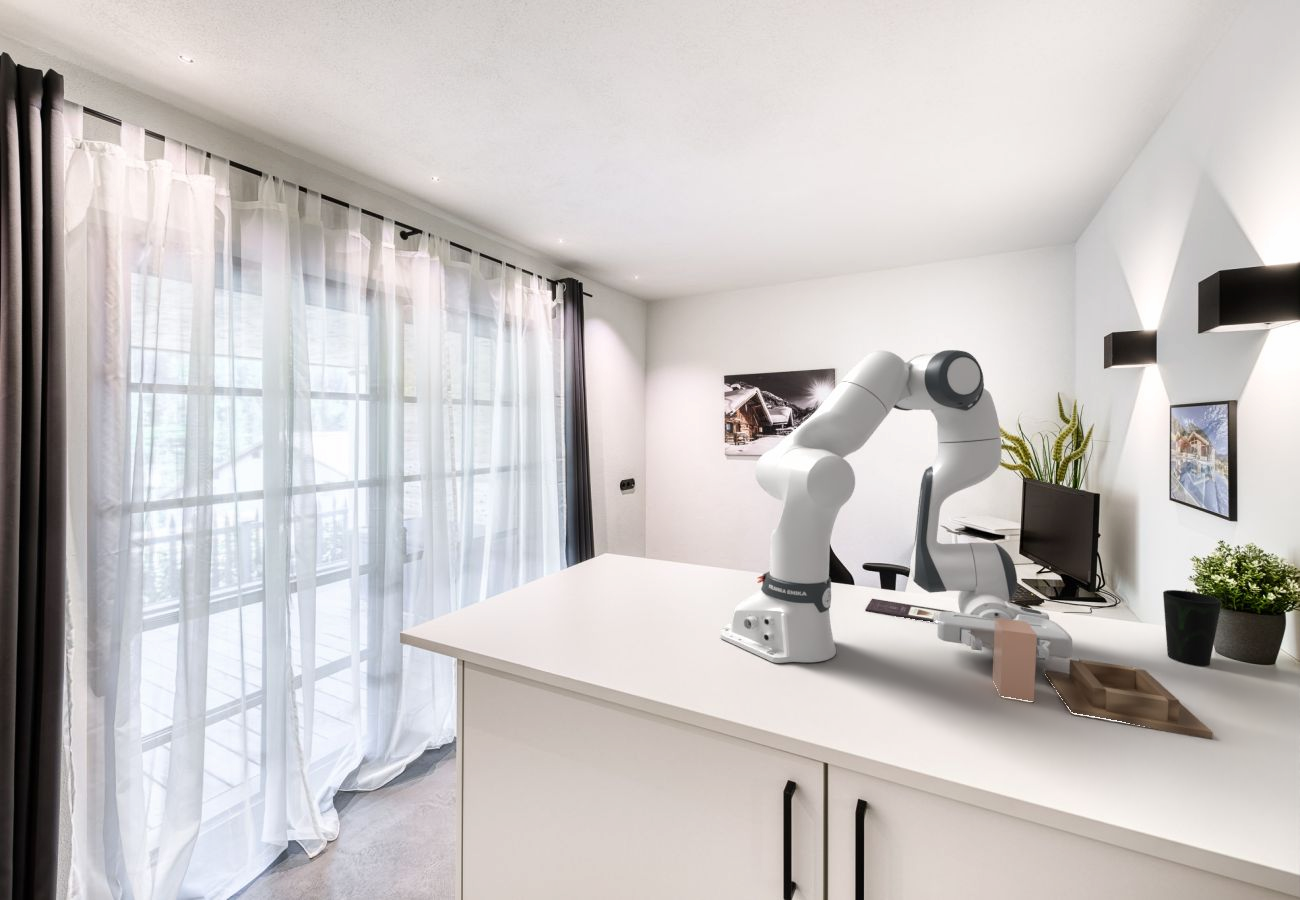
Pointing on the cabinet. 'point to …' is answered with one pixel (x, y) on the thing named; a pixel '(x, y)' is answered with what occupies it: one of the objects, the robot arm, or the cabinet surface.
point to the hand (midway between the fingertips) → (1009, 650)
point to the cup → (1190, 626)
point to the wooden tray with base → (1124, 697)
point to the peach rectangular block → (1014, 659)
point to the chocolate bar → (902, 610)
